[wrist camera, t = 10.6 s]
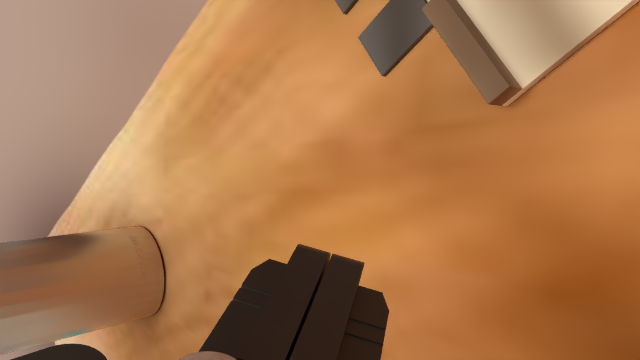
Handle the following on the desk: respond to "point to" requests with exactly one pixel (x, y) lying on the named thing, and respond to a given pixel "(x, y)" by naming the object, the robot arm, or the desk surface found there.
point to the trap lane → (491, 36)
